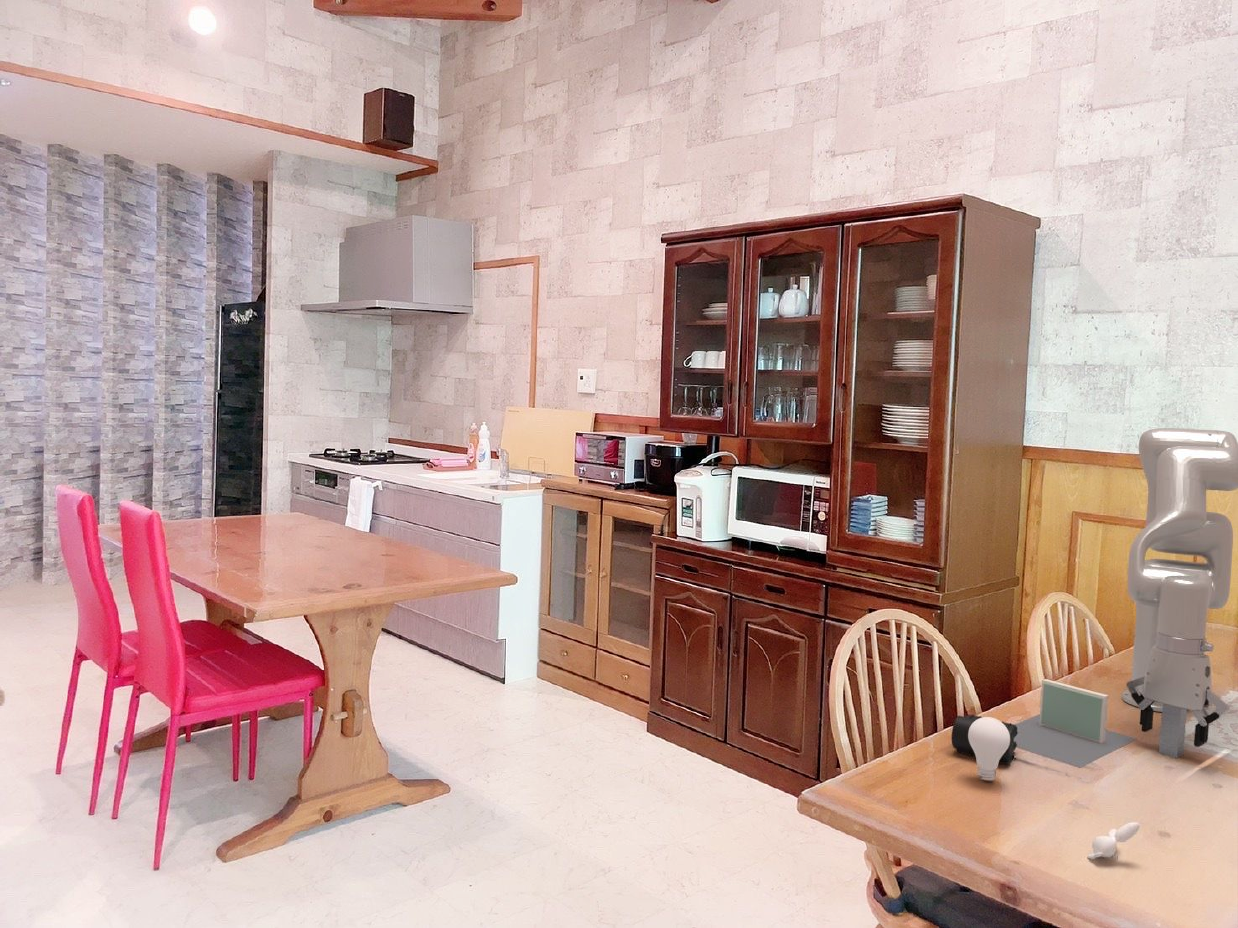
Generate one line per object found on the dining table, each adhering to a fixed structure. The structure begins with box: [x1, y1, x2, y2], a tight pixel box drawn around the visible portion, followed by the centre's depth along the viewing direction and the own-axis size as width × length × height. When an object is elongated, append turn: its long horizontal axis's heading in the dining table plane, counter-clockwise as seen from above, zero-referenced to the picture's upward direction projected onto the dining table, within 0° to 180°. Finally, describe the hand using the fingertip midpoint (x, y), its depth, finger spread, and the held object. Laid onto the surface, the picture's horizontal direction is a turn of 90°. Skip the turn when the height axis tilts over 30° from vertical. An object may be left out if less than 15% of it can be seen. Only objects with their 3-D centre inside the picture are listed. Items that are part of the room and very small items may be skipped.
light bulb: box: [968, 716, 1010, 783], centre depth 161 cm, size 7×7×11 cm
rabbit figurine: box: [1087, 821, 1140, 860], centre depth 135 cm, size 6×4×8 cm
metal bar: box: [1158, 704, 1188, 759], centre depth 173 cm, size 3×3×12 cm
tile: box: [1039, 678, 1109, 743], centre depth 182 cm, size 2×12×9 cm, turn 39°
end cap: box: [951, 713, 1018, 765], centre depth 172 cm, size 10×7×7 cm
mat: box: [1013, 713, 1138, 769], centre depth 180 cm, size 24×18×1 cm
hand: (1172, 737), depth 173 cm, fingers open, 8 cm apart
